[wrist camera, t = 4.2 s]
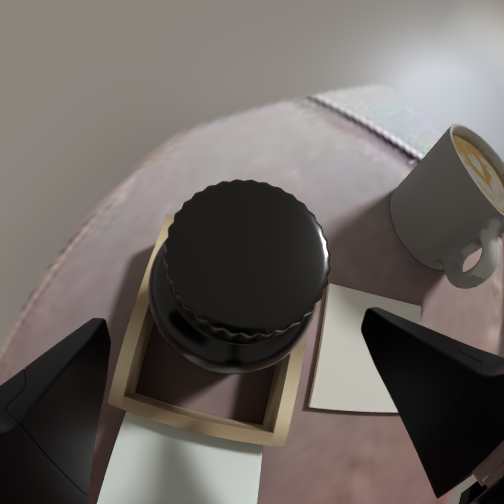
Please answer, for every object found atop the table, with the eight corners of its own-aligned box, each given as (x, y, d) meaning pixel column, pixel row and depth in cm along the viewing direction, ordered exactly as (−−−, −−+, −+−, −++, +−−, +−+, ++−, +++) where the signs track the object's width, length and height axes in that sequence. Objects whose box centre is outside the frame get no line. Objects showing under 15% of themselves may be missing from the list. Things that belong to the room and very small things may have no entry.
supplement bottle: (147, 327, 18) (76, 254, 7) (212, 254, 21) (230, 123, 10) (230, 393, 17) (278, 426, 6) (290, 314, 20) (391, 236, 9)
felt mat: (408, 412, 18) (411, 412, 17) (307, 406, 17) (309, 407, 17) (418, 307, 22) (420, 306, 21) (327, 284, 21) (329, 283, 21)
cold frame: (271, 437, 16) (284, 447, 13) (121, 399, 15) (107, 403, 13) (303, 272, 21) (318, 256, 18) (170, 236, 21) (167, 215, 18)
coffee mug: (393, 169, 28) (443, 106, 19) (457, 212, 28) (511, 165, 19) (376, 275, 22) (460, 214, 13) (453, 316, 22) (535, 280, 13)
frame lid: (239, 516, 13) (250, 548, 9) (115, 486, 12) (95, 511, 8) (262, 427, 16) (281, 442, 12) (133, 395, 15) (113, 401, 11)
